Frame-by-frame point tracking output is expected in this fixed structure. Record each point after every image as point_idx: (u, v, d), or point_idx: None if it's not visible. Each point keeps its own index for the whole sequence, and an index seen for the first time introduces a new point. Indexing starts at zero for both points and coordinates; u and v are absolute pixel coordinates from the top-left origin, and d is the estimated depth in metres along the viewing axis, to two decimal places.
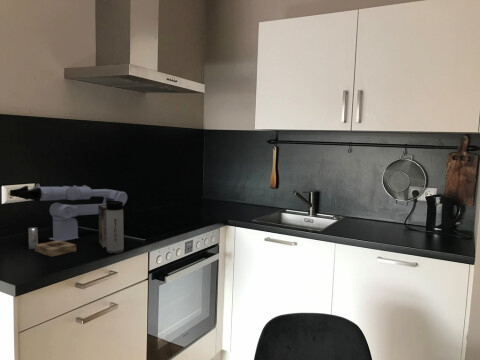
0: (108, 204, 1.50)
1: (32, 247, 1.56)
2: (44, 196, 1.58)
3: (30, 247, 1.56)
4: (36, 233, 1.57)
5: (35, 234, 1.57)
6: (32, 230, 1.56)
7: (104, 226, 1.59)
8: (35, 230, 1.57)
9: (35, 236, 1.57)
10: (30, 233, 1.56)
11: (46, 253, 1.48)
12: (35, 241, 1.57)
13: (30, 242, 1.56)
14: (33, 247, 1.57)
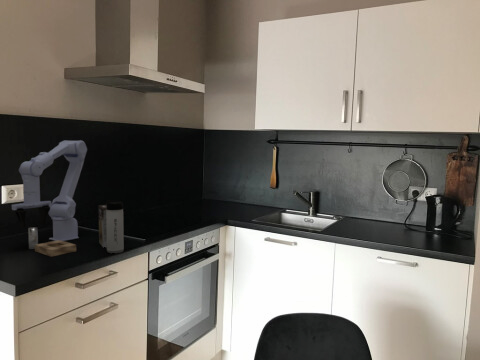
0: (108, 204, 1.50)
1: (32, 247, 1.56)
2: None
3: (30, 247, 1.56)
4: (36, 233, 1.57)
5: (35, 234, 1.57)
6: (32, 230, 1.56)
7: (104, 226, 1.59)
8: (35, 230, 1.57)
9: (35, 236, 1.57)
10: (30, 233, 1.56)
11: (46, 253, 1.48)
12: (35, 241, 1.57)
13: (30, 242, 1.56)
14: (33, 247, 1.57)
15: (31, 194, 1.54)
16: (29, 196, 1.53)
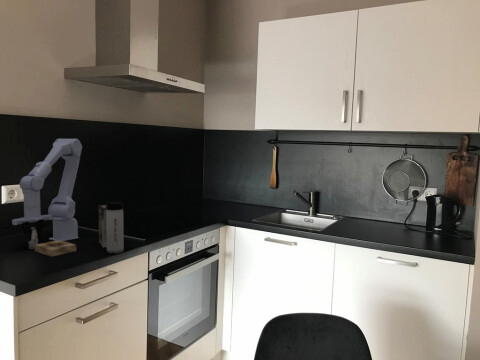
0: (108, 204, 1.50)
1: (32, 247, 1.56)
2: None
3: (30, 247, 1.56)
4: (36, 233, 1.57)
5: (35, 234, 1.57)
6: (32, 230, 1.56)
7: (104, 226, 1.59)
8: (35, 230, 1.57)
9: (35, 236, 1.57)
10: None
11: (46, 253, 1.48)
12: (35, 241, 1.57)
13: (30, 242, 1.56)
14: (33, 247, 1.57)
15: (31, 209, 1.54)
16: (30, 210, 1.54)
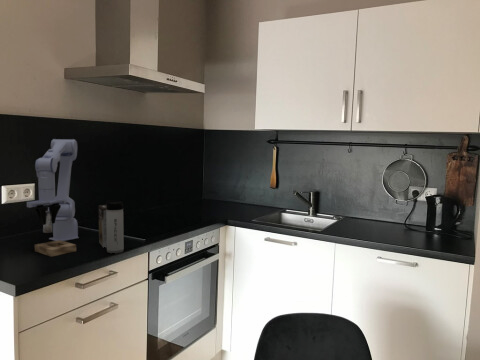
0: (108, 204, 1.50)
1: (47, 231, 1.53)
2: None
3: (44, 231, 1.53)
4: (51, 216, 1.54)
5: (50, 217, 1.53)
6: (47, 213, 1.52)
7: (104, 226, 1.59)
8: (50, 213, 1.53)
9: (50, 219, 1.53)
10: (45, 216, 1.52)
11: (46, 253, 1.48)
12: (50, 225, 1.53)
13: (45, 226, 1.53)
14: (48, 231, 1.53)
15: (46, 191, 1.51)
16: (45, 193, 1.50)
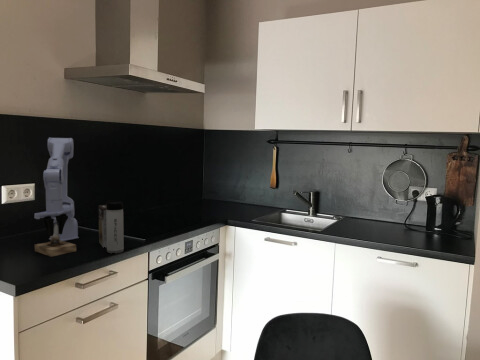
0: (108, 204, 1.50)
1: (54, 242, 1.52)
2: None
3: (52, 242, 1.52)
4: (58, 227, 1.53)
5: (57, 228, 1.53)
6: (54, 224, 1.52)
7: (104, 226, 1.59)
8: (57, 224, 1.52)
9: (57, 230, 1.53)
10: None
11: (46, 253, 1.48)
12: (57, 236, 1.53)
13: (52, 237, 1.52)
14: (55, 242, 1.52)
15: (54, 202, 1.50)
16: (52, 204, 1.50)
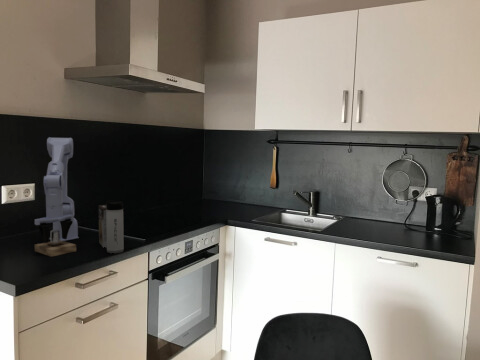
0: (108, 204, 1.50)
1: None
2: None
3: None
4: (58, 236, 1.53)
5: (57, 237, 1.53)
6: (54, 233, 1.52)
7: (104, 226, 1.59)
8: (57, 233, 1.53)
9: (57, 239, 1.53)
10: (52, 236, 1.52)
11: (46, 253, 1.48)
12: (57, 244, 1.53)
13: (52, 245, 1.52)
14: None
15: (54, 208, 1.50)
16: (52, 210, 1.50)
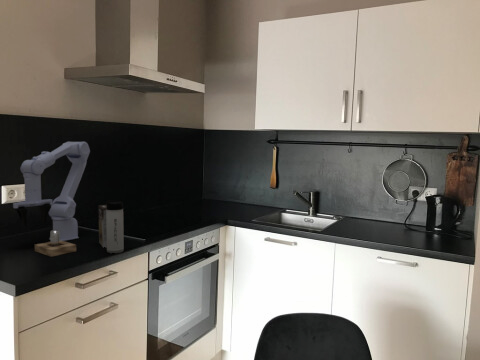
0: (108, 204, 1.50)
1: None
2: None
3: None
4: (58, 236, 1.53)
5: (57, 237, 1.53)
6: (54, 233, 1.52)
7: (104, 226, 1.59)
8: (57, 233, 1.53)
9: (57, 239, 1.53)
10: (52, 236, 1.52)
11: (46, 253, 1.48)
12: (57, 244, 1.53)
13: (52, 245, 1.52)
14: None
15: (32, 192, 1.55)
16: (31, 194, 1.55)
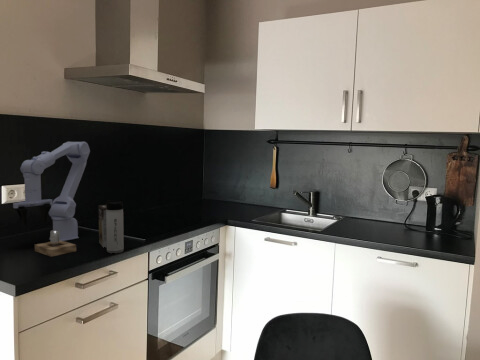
0: (108, 204, 1.50)
1: None
2: None
3: None
4: (58, 236, 1.53)
5: (57, 237, 1.53)
6: (54, 233, 1.52)
7: (104, 226, 1.59)
8: (57, 233, 1.53)
9: (57, 239, 1.53)
10: (52, 236, 1.52)
11: (46, 253, 1.48)
12: (57, 244, 1.53)
13: (52, 245, 1.52)
14: None
15: (32, 192, 1.55)
16: (31, 194, 1.55)
